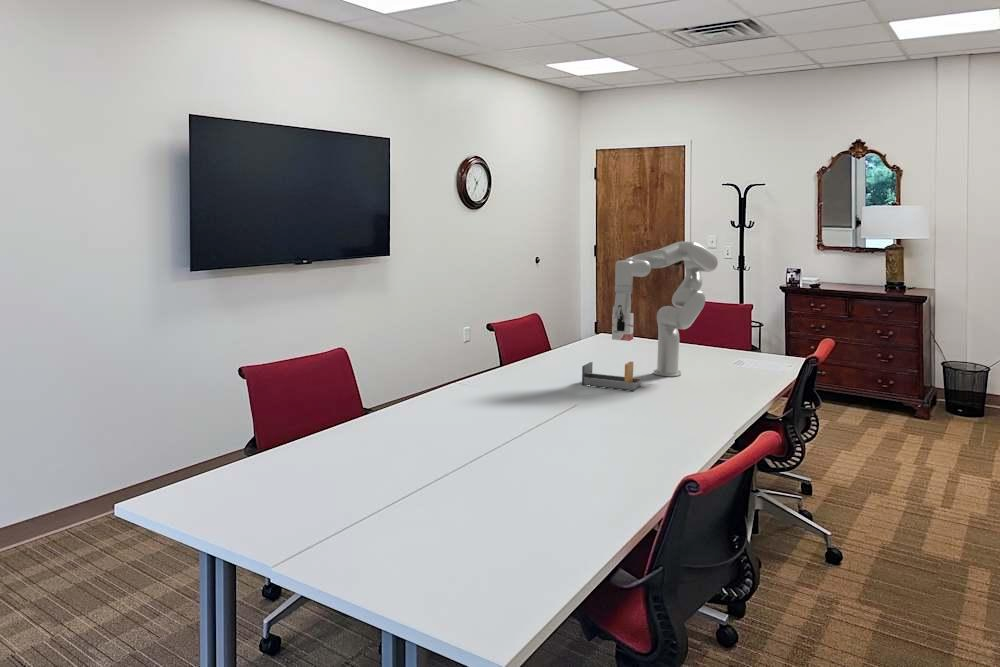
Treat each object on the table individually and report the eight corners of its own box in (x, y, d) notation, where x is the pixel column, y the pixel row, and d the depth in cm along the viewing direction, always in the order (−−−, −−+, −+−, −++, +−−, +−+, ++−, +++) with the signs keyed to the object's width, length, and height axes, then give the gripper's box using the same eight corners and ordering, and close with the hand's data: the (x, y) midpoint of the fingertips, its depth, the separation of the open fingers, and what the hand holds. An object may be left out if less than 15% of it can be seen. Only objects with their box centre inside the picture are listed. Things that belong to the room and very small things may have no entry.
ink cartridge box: (633, 339, 330) (634, 306, 327) (630, 341, 325) (630, 307, 323) (615, 337, 334) (615, 305, 331) (611, 339, 329) (612, 306, 327)
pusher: (629, 384, 322) (630, 361, 320) (632, 384, 321) (633, 361, 320) (624, 387, 316) (624, 364, 314) (627, 388, 315) (628, 364, 313)
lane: (589, 380, 331) (590, 362, 330) (640, 386, 321) (641, 367, 320) (581, 385, 323) (582, 366, 321) (633, 391, 312) (634, 371, 311)
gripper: (621, 286, 335) (620, 326, 338) (609, 290, 320) (608, 332, 323) (637, 287, 331) (636, 327, 334) (626, 291, 316) (625, 333, 319)
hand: (622, 329), depth 329 cm, fingers closed on ink cartridge box, 5 cm apart
